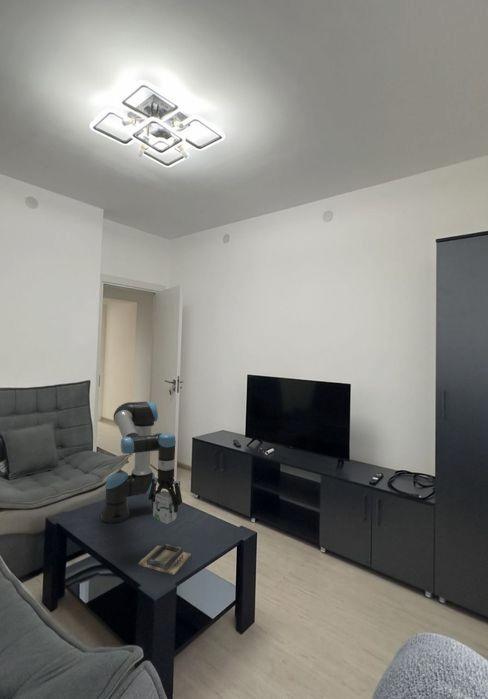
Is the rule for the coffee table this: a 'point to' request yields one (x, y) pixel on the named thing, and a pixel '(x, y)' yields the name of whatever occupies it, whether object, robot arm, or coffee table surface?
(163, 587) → the coffee table surface
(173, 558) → the header board
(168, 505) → the ink box
